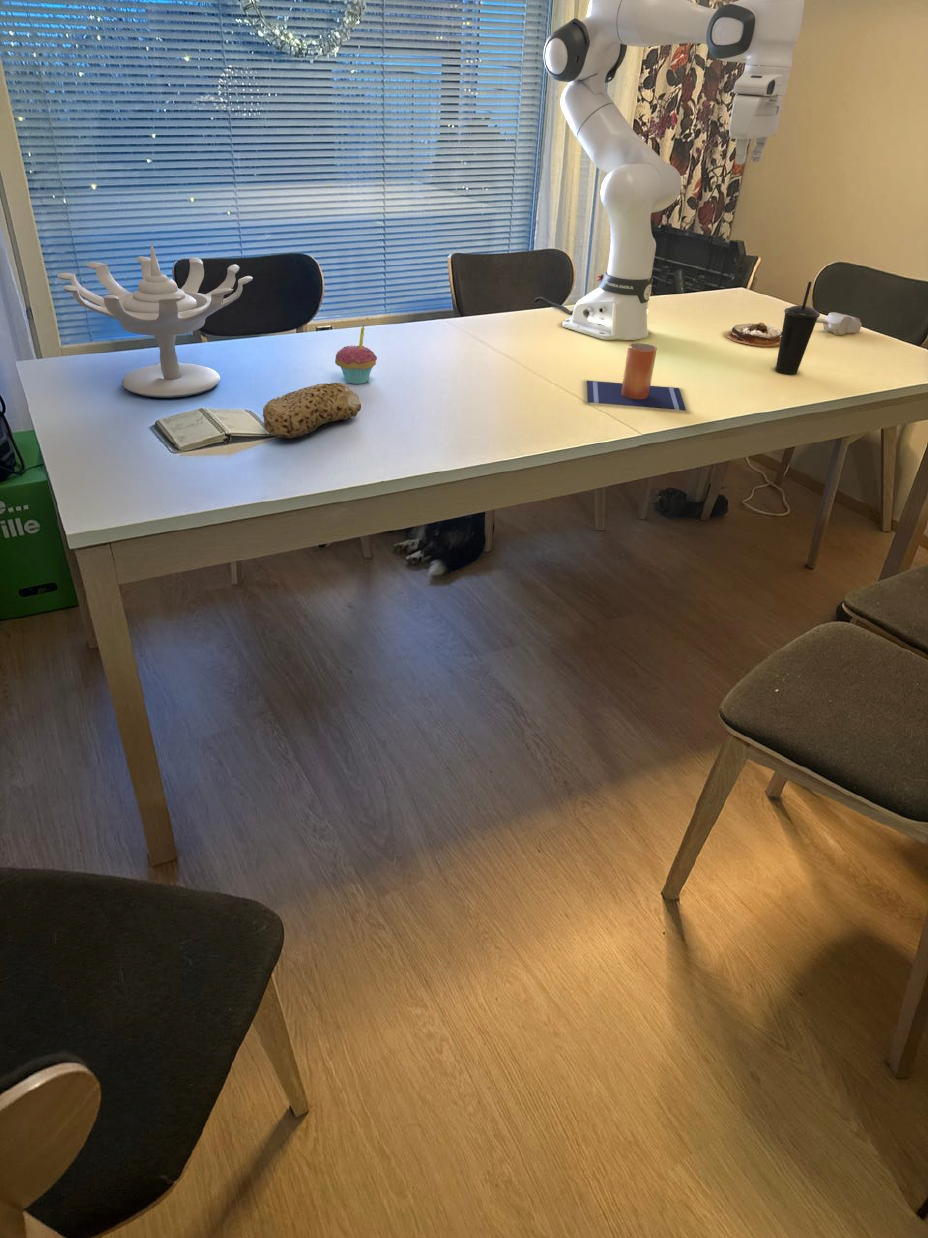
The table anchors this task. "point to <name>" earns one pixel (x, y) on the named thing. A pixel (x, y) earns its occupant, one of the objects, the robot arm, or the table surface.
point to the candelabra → (161, 321)
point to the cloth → (656, 399)
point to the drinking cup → (795, 336)
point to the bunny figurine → (840, 323)
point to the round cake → (755, 334)
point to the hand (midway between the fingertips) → (747, 162)
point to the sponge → (309, 409)
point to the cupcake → (356, 362)
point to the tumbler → (638, 371)
